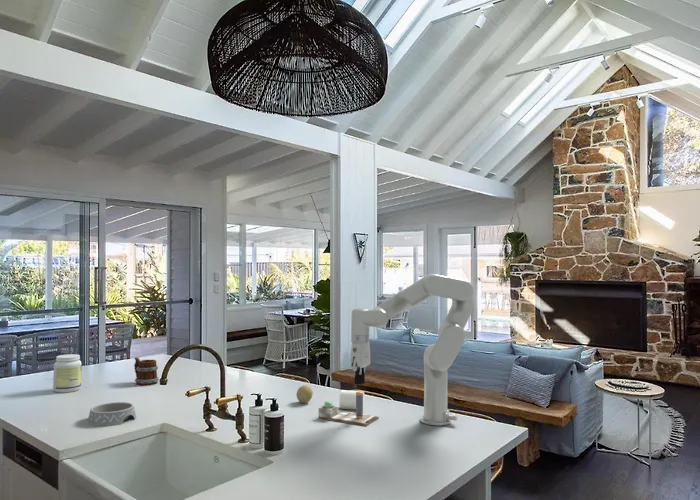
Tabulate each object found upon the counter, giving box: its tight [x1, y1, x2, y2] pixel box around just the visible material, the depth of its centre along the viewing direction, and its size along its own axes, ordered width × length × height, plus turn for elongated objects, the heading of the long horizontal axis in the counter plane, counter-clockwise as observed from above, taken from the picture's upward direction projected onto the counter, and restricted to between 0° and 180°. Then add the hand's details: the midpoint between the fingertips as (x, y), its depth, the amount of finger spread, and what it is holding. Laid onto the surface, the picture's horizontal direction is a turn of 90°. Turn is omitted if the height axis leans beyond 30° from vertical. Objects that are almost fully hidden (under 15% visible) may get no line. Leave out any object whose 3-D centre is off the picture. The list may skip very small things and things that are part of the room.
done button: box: [324, 400, 333, 409], centre depth 220 cm, size 3×3×3 cm
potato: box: [295, 384, 314, 404], centre depth 243 cm, size 8×8×8 cm
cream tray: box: [317, 404, 380, 427], centre depth 219 cm, size 22×12×4 cm, turn 63°
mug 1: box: [133, 357, 160, 387], centre depth 278 cm, size 12×14×15 cm
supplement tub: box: [52, 353, 83, 394], centre depth 260 cm, size 12×12×17 cm
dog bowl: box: [86, 401, 137, 427], centre depth 213 cm, size 17×18×5 cm
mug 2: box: [338, 389, 366, 411], centre depth 236 cm, size 12×10×8 cm
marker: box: [355, 391, 364, 419], centre depth 216 cm, size 3×3×10 cm
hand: (359, 383), depth 217 cm, fingers closed
